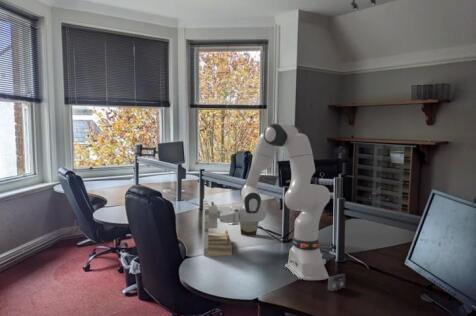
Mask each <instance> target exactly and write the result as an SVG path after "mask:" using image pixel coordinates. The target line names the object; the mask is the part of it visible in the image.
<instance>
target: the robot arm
mask: <svg viewBox="0 0 476 316" xmlns="http://www.w3.org/2000/svg"><path fill="white" fill-rule="evenodd" d="M279 147H283V148H284V147H285V148H286V149H287V151H288V158H289V165H290V170H291V171H290V173H291V178H290V179H291V180H290V183H289V186H288V189H287V191H286V192H285V194H284V199H283V200H284V204H285V206H286V208H288V209H289V210H290V211H298V212H300V213H299V215H298V216H297V217H296V219H295V220H294V229H293V231H294V233H293V237H292V246H291V248H289V250H288V251H289V254H288V262H287V263H285V265H284V268H286V267H287V268H288V269H289V270H290V271H291V272H292V273H291V272H290V271H289V270H288V269H287V268H286V269H287V270H288V271H289V272H290V273H291V274H293V275H294V274H295V275H296V276H297V277H298V278H297V277H296V276H295V275H294V276H295V277H296V278H297V279H299V280H302V279H303V280H304V281H323V280H327V279H328V277H330V276H329V274H328V271H327V269H326V267H325V265H326V264H327V262H326V258H322V257H323V256H324V255H323V253H321V249H320V241H319V226H320V225H319V224H320V220H321V218H322V217H321V216H322V214H323V212H324V209H325V207H326V206H327V204H328V203H330V200H331V193H330V190H329V189H328V187H326V186H325V185H322V184H311V181H312V178H313V176H314V174H315V173H316V167H315V162H314V155H313V150H312V147H311V142H310V140H309V138H308V136H307V135H306V134H305V133H302V131H301V129H300V128H299V127H298V126H296V125H293V124H286V123H270V124H269V125H267V126H266V127H265V129H264V131H263V132H262V133H261V134H260V135H259V137H258V139H257V141H256V144H255V147H254V150H253V153H252V157H251V158H252V159H251V164H250V165H251V166H250V167H249V171H248V174H247V177H246V180H245V182H244V183H243V184H242V186H241V187H240V190H239V195H240V197H241V200H242V203H243V205H232V207H231V206H217V214H210V217H211V218H217V219H218V220H219V222H220V223H224V224H234V225H238V224H240V222H245V221H247V222H259V223H260V222H262V221H264V220H265V219H266V216H267V208H266V206H265V205H264V203H263V200H262V197H261V194H260V192H259V189H258V182H259V180H260V176H261V174H262V172H263V171H265V170H266V171H267V170H269V169H270V168H271V166H272V165H273V163H274V160H275V156H276V153H277V150H278V148H279ZM303 280H302V281H303Z"/></svg>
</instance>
